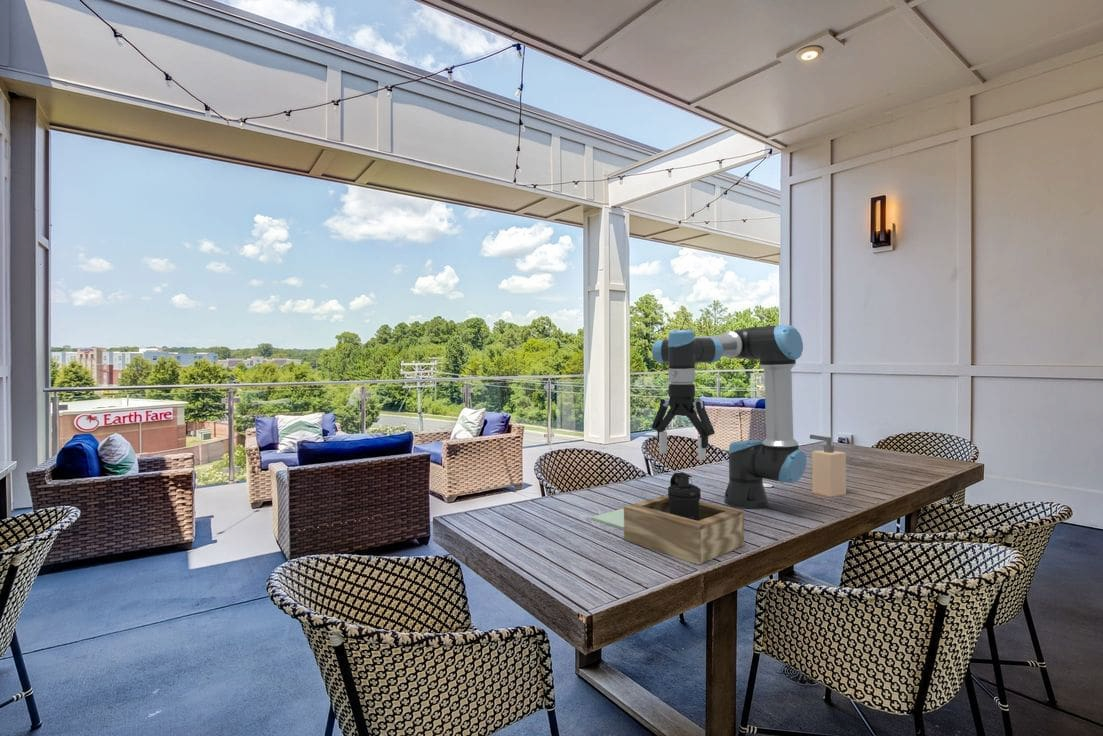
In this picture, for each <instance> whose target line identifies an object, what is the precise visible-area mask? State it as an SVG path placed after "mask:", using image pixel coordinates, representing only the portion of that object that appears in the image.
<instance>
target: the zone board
mask: <svg viewBox="0 0 1103 736" xmlns="http://www.w3.org/2000/svg"><path fill="white" fill-rule="evenodd" d="M591 521H595V522H599V523H601V524H605V525H607V524H608V525H607V526H610V527H614V528H617V529H620V530H623V531H624V507H623V508H620V509H619V508H618V509H616V510H613V511H609V512H605V513H601V514H598V515H594V516H592V517H591Z"/></svg>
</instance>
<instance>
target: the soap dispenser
mask: <svg viewBox="0 0 1103 736" xmlns="http://www.w3.org/2000/svg"><path fill="white" fill-rule="evenodd" d="M810 439H811V440H817V441H823V442H824V441H825V442H826V444H824V445H823V449H822V450H813V451H811V454H812V455H811V462H812V466H811V468H812V469H811V472H812V473H811V475H812V476H811V477H812V479H811V482H812V483H811V484H812V485H811V486H812V487H811V491H812V493H815V494H819V495H823V496H827V497H830V498H831V497H837V496H838V497H839V496H844V495H847V453H846V452H843V451H837V450H836V451H835V446H834V445H832V437H831V436H823V435H816V434H809V440H810Z"/></svg>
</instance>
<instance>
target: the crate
mask: <svg viewBox="0 0 1103 736" xmlns="http://www.w3.org/2000/svg"><path fill="white" fill-rule="evenodd" d="M623 508H624V530H623V535H624V536H623V540H624V541H627V542H629V543H632V544H635V545H638V546H641V547H644V548H646V549H650V550H653V551H657V552H658V553H659V552H660V553H663V554H665V555H668V556H670V557H675V558H677V559H680V560H683V561H686V562H689V563H692V564H695V563H696V564H695V565H698V564H700V565H702V564H704V563H703V562H705V563H707V562H709V561H711V560H713V558H714V559H716V558H718V557H720V556H719V555H721V556H722V554H723V555H725V554H727V553H730V552H732V551H735V550H736V549H738V548H742V547H743V546H745V524H744V523H745V521H744V520H745V518H744V517H745V511H744V510H743V509H739V508H736V507H730V506H725V505H721V504H716V503H712V502H708V501H703V500H699V521H696V520H692V519H688V518H684V517H681V516H677V515H673V514H669V511H670V498H669V497H668V493H667V494H664V495H660V496H656V497H653V498H650V499H646V500H642V501H638V502H635V503H632V504H628V505H625V506H624V505H623ZM724 553H725V554H724ZM717 556H718V557H717ZM715 557H716V558H715ZM708 560H709V561H708ZM706 561H707V562H706ZM701 563H702V564H701Z"/></svg>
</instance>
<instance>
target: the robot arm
mask: <svg viewBox="0 0 1103 736" xmlns="http://www.w3.org/2000/svg"><path fill="white" fill-rule="evenodd" d="M803 343H804V342H803V338H802V335H801V333H800V332H799V330H798V329H797V328H796V327H794V325H793V326H792V325H789V324H788V325H787V324H786V325H785V324H784V325H783V324H778V325H777V324H776V325H764V326H763V325H762V326H750V327H745V328H741V329H736V330H730V331H726V332H724V333H722V334H717V335H707V336H705V335H704V336H696V333H695V331H694V330H691V329H690V330H689V329H681V330H680V329H678V330H671V331H670V332H669V333H668V339H664V338H663V339H660V340H657V341H655V342H654V343H653V345H652V347H651V354H652V358H653V360H654V361H655V362H657V363H660V364H661V363H662V364H668V383H670V384H668V386H667V387H668V390H667V391H668V397H669V399H668V398H662V399H660V401H659V407H658V410H657V411H656V412H657V413H656V414H655V415H656V416H655V418H654V420H653V422H652V425H651V428H652V430H655V431H656V433H657V436H656V437H657V442H658V443H659V444H658V445H659V447H658V451H659V452H658V454H659V455H663V454H667V453H668V432H667V431H666V428H667V427H668V426H669V424H670V423H671V422H672V420H673V419H674V418H675V417H676V416H682V417H686V418H688V419H689V420H690V422H691V424H692V425H693V427H694V428H695V429H696V431H697V433H698V434H699V436H697V460H698V461H704V460H706V459H707V450H706V449H708V448H709V437H710V436H712V435H715V429H714V427H713V425H712V422H711V420H710V418H709V415H708V412H707V411H706V406H705V405H706V404H705V401H704V400H700V401H699V400H697V401H695V396H696V385H695V384H694V383H695V382H696V364H704V363H705V364H712V363H716V362H718V361H719V360H720V359H721V358H722V357H724V358H727V359H746V360H758V362H759V366H760V367H761V368H762V369H763V372H764V375H763V376H764V402H765V405H764V406H765V428H766V429H765V430H766V438H765V439H763V440H761V439H752V440H751V439H749V440H747V439H746V440H737V441H732V442H731V443H730V444H729V447H728V478H729V479H728V484H727V486H726V490H725V493H724V497H723V499H724V503H725V504H726V505H728V506H731V507H733V508H741V509H762V508H766V507H767V506H768V505H769V498H768V495H767V492H766V489H765V486H764V484H763V483H764V482H763V480H769V481H773V482H774V481H775V482H780V483H782V484H783V483H787V484H795V483H797V482H799V481H800V480H801V479H802V477H803V475H804V474H805V471H806V467H807V456H806V453H805V452H804V451H803V450H802V449H799V448H800V447H799V442H798V441H797V440H796V439H795V438H794V423H793V422H794V416H793V387H792V385H793V384H792V380H793V379H792V368H794V366H796V365H797V364H796V363H797V360H799V358H801V357H802V354H803V351H804V344H803ZM668 407H669V409H668ZM695 409H696V411H695Z"/></svg>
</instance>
